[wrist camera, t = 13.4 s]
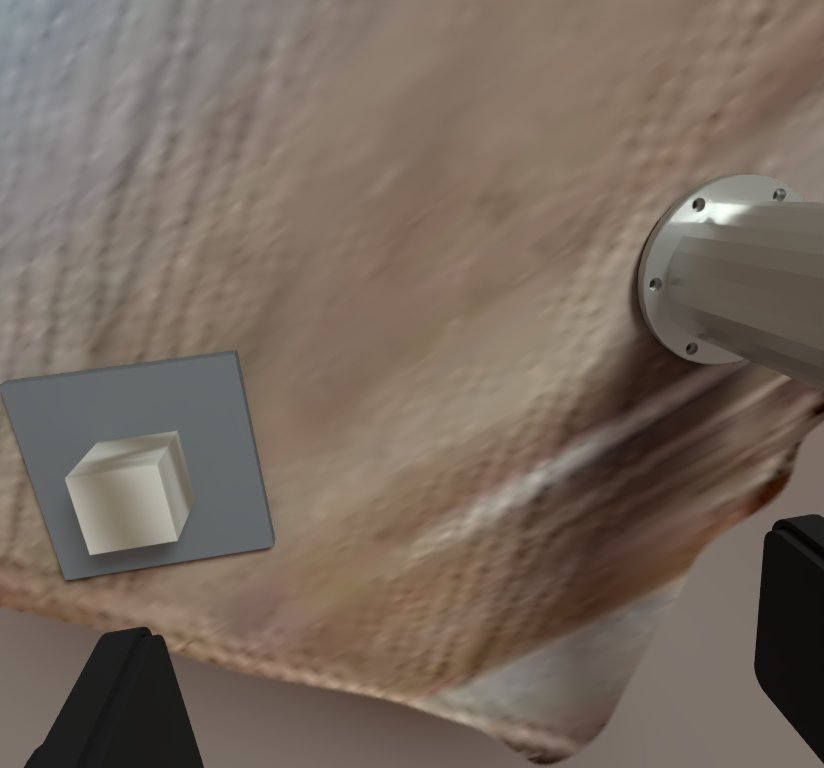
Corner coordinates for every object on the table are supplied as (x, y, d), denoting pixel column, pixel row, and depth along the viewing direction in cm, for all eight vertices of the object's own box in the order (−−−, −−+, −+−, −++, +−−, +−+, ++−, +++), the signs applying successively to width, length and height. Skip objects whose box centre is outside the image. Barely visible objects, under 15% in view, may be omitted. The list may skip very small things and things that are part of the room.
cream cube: (177, 430, 39) (157, 464, 34) (195, 499, 40) (177, 540, 36) (96, 442, 38) (64, 478, 34) (117, 511, 40) (89, 555, 35)
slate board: (236, 350, 39) (234, 354, 38) (275, 538, 43) (273, 546, 42) (7, 380, 37) (-2, 385, 36) (71, 571, 42) (65, 580, 41)
